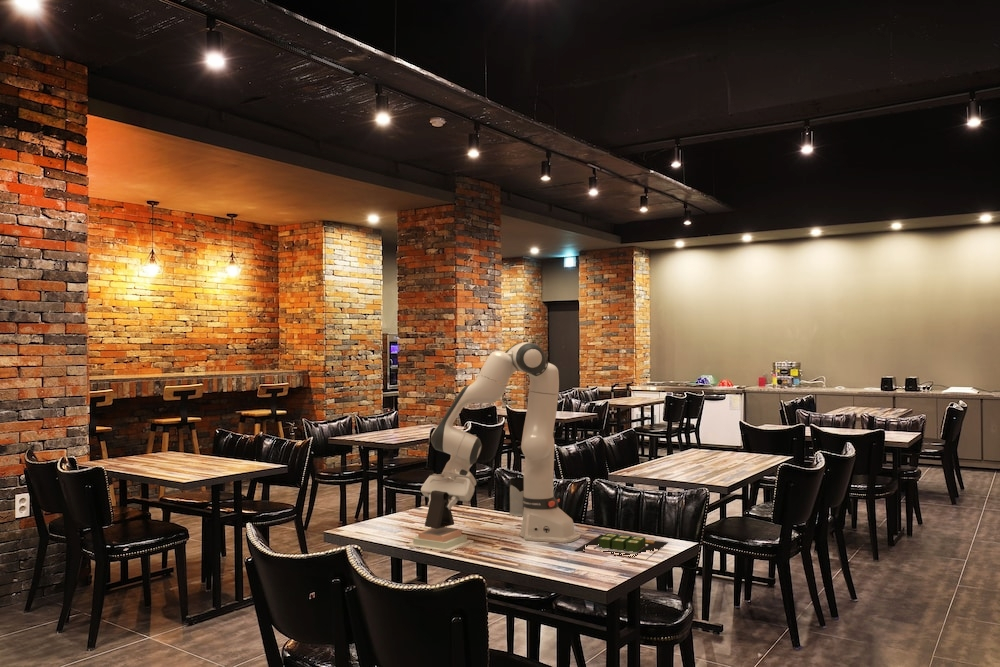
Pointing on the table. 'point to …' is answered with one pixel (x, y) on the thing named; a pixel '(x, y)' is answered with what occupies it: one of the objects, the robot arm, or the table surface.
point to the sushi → (623, 543)
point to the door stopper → (439, 511)
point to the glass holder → (516, 496)
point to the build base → (440, 539)
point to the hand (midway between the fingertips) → (438, 507)
